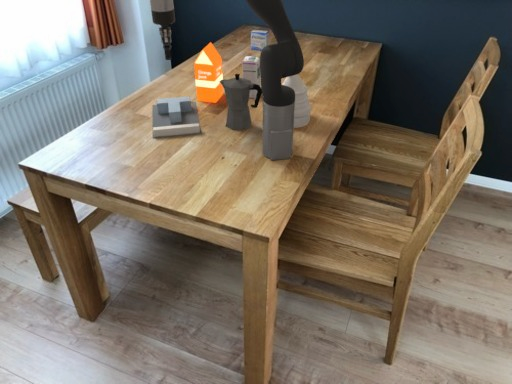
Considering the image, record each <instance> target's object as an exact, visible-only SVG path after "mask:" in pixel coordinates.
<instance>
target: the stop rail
mask: <svg viewBox="0 0 512 384" xmlns="http://www.w3.org/2000/svg"><path fill="white" fill-rule="evenodd" d="M200 127H201V126H200ZM200 127H199V123H195V124H184V125H173V126H162V127H153V126H152V134H153V133H154V137H159V136H170V135H181V134H191V133H200Z"/></svg>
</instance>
